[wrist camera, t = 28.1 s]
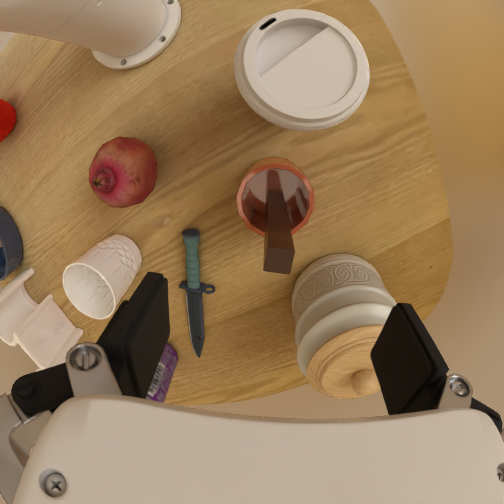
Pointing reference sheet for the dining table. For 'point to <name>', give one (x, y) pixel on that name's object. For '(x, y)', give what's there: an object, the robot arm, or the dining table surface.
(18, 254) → the bowl
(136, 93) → the dining table surface
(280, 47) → the coffee cup
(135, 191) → the fruit
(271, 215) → the stick
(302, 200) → the holder
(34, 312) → the bracket
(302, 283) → the jar
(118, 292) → the white cup
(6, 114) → the apple
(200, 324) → the knife
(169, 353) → the beverage can
